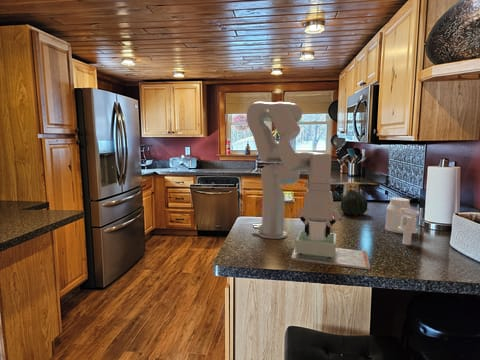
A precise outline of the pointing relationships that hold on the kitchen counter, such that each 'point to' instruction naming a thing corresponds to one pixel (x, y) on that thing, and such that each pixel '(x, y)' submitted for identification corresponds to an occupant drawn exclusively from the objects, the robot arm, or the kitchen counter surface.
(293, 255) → the white flat board
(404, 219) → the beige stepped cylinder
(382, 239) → the kitchen counter surface
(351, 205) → the squash
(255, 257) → the kitchen counter surface
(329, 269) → the kitchen counter surface
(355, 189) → the candy box
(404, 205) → the jar
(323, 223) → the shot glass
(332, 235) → the pale green open box
